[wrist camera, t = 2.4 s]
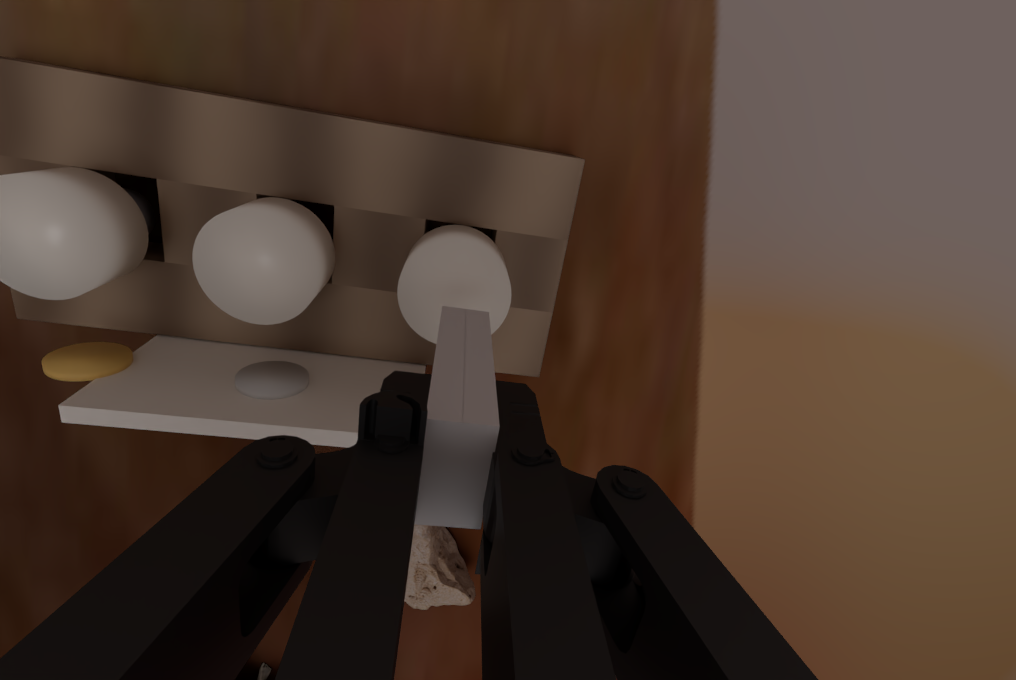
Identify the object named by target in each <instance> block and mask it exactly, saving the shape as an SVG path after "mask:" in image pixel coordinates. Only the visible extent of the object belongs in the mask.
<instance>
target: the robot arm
mask: <svg viewBox="0 0 1016 680" xmlns="http://www.w3.org/2000/svg"><path fill="white" fill-rule="evenodd" d="M482 518H483V525H484V529H483V535H482V540H481V545H480V550H479V556H478V561H477V566H476V571H475V574H480V575H481V631H482V680H616V678H617V680H818V679H817V678H816V676H815V675H814V674H813V673H812V672H811V671H810V669H809V668H808V667H807V666H806V665H805V663H804V662H803V661H802V659H801V658H800V657H799V656H798V655H797V653H796V652H795V651H794V650H793V649H792V647H791V646H790V645H789V644H788V643H787V641H786V640H785V639H784V638H783V636H782V635H781V634H780V633H779V632H778V630H777V629H776V628H775V627H774V626H773V624H772V623H771V622H770V621H769V619H768V618H767V617H766V616H765V615H764V613H763V612H762V611H761V610H760V609H759V607H758V606H757V605H756V604H755V603H754V601H753V600H752V599H751V598H750V596H749V595H748V594H747V593H746V592H745V590H744V589H743V588H742V587H741V585H740V584H739V583H738V582H737V581H736V580H735V578H734V577H733V576H732V575H731V573H730V572H729V571H728V570H727V569H726V567H725V566H724V565H723V564H722V562H721V561H720V560H719V559H718V558H717V556H716V555H715V554H714V553H713V552H712V550H711V549H710V548H709V547H708V546H707V544H706V543H705V542H704V541H703V539H702V538H701V537H700V536H699V535H698V533H697V532H696V531H695V530H694V529H693V527H692V526H691V525H690V524H689V522H688V521H687V520H686V519H685V518H684V516H683V515H682V514H681V513H680V512H679V510H678V509H677V508H676V507H675V505H674V504H673V503H672V502H671V501H670V499H669V498H668V497H667V496H666V495H665V493H664V492H663V491H662V490H661V488H660V487H659V486H658V485H657V484H656V483H655V482H654V481H653V480H652V479H651V478H650V477H649V476H647V475H646V474H644V473H642V472H640V471H638V470H636V469H633V468H630V467H626V466H618V465H612V466H608V467H604V468H603V469H601V470H600V471H599V472H598V474H597V478H596V479H594V478H591V477H588V476H584V475H581V474H578V473H576V472H573V471H570V470H568V469H567V468H565V467H563V466H562V465H561V461H560V458H559V456H558V454H557V453H556V451H555V450H554V449H553V448H551V447H550V446H549V445H548V444H547V443H546V439H545V434H544V430H543V426H542V421H541V417H540V413H539V408H538V404H537V400H536V395H535V394H534V392H533V391H532V390H531V389H530V388H529V387H528V386H527V385H526V384H521V383H512V382H504V381H495V371H494V360H493V349H492V338H491V328H490V317H489V312H486V311H478V310H470V309H463V308H455V307H447V306H442V311H441V317H440V324H439V331H438V337H437V344H436V350H435V357H434V364H433V370H432V375H430V374H421V373H413V372H404V371H394V372H392V373H391V374H390V375H388V376H387V377H386V378H384V380H383V383H382V386H381V389H380V392H378V393H374V394H372V395H370V396H368V397H366V398H364V399H363V401H362V402H361V403H360V407H359V424H358V440H357V443H356V444H355V445H353V446H351V447H349V448H346V449H343V450H340V451H335V452H329V453H320V454H315V451H314V447H313V446H312V445H311V444H310V443H309V442H308V441H306V440H304V439H301V438H299V437H296V436H288V435H278V436H269V437H265V438H262V439H259V440H256V441H254V442H252V443H251V444H249V445H247V446H246V447H244V448H243V449H242V450H241V451H240V452H238V453H237V454H236V455H235V456H234V457H233V458H231V459H230V460H229V461H228V462H227V463H226V464H225V465H223V466H222V467H221V468H220V469H219V470H218V471H216V472H215V473H214V474H213V475H212V476H211V477H210V478H208V479H207V480H206V481H205V482H204V483H203V484H201V485H200V486H199V487H198V488H197V489H196V490H195V491H193V492H192V493H191V494H190V495H189V496H188V497H186V498H185V499H184V500H183V501H182V502H181V503H180V504H178V505H177V506H176V507H175V508H174V509H173V510H171V511H170V512H169V513H168V514H167V515H166V516H165V517H163V518H162V519H161V520H160V521H159V522H158V523H156V524H155V525H154V526H153V527H152V528H151V529H149V530H148V531H147V532H146V533H145V534H144V535H143V536H141V537H140V538H139V539H138V540H137V541H136V542H134V543H133V544H132V545H131V546H130V547H129V548H128V549H126V550H125V551H124V552H123V553H122V554H121V555H119V556H118V557H117V558H116V559H115V560H114V561H113V562H111V563H110V564H109V565H108V566H107V567H106V568H104V569H103V570H102V571H101V572H100V573H99V574H98V575H96V576H95V577H94V578H93V579H92V580H91V581H89V582H88V583H87V584H86V585H85V586H84V587H83V588H81V589H80V590H79V591H78V592H77V593H76V594H74V595H73V596H72V597H71V598H70V599H69V600H67V601H66V602H65V603H64V604H63V605H62V606H61V607H59V608H58V609H57V610H56V611H55V612H54V613H52V614H51V615H50V616H49V617H48V618H47V619H46V620H44V621H43V622H42V623H41V624H40V625H39V626H37V627H36V628H35V629H34V630H33V631H32V632H31V633H29V634H28V635H27V636H26V637H25V638H24V639H22V640H21V641H20V642H19V643H18V644H17V645H16V646H14V647H13V648H12V649H11V650H10V651H9V652H7V653H6V654H5V655H4V656H3V657H2V658H1V659H0V680H235V678H236V677H237V675H238V674H239V672H240V671H241V669H242V668H243V666H244V665H245V664H246V662H247V661H248V659H249V658H250V656H251V655H252V653H253V652H254V650H255V649H256V647H257V646H258V644H259V643H260V641H261V640H262V638H263V637H264V635H265V634H266V632H267V631H268V630H269V628H270V627H271V625H272V624H273V622H274V621H275V619H276V618H277V616H278V615H279V613H280V612H281V610H282V609H283V607H284V606H285V604H286V603H287V601H288V600H289V598H290V597H291V596H292V594H293V593H294V591H295V590H296V588H297V587H298V585H299V584H300V582H301V581H302V579H303V578H304V576H305V575H306V573H307V572H308V570H309V569H310V566H311V564H312V561H313V560H316V562H315V564H314V567H313V570H312V573H311V576H310V579H309V582H308V585H307V588H306V591H305V593H304V596H303V599H302V602H301V605H300V608H299V611H298V614H297V617H296V619H295V622H294V625H293V628H292V631H291V634H290V637H289V640H288V643H287V646H286V648H285V651H284V654H283V657H282V660H281V663H280V666H279V669H278V672H277V675H276V677H275V680H394V674H395V667H396V659H397V652H398V644H399V637H400V629H401V622H402V614H403V607H404V600H405V592H406V585H407V577H408V570H409V562H410V555H411V547H412V539H413V531H414V524H417V525H430V526H443V527H456V528H469V529H481V524H482ZM615 676H616V677H615Z"/></svg>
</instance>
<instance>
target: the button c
mask: <svg viewBox="0 0 1016 680" xmlns="http://www.w3.org/2000/svg"><path fill="white" fill-rule="evenodd" d="M397 296H398V303H399V307H400V310H401V312H402V315H403V317H404V318H405V320H406V322H407V323H408V324H409V326H410V327H411V328H412V329H413V330H414V331H415V332H416V333H417V334H419V335H420V336H421V337H423V338H424V339H426V340H428V341H430V342H432V343H435V344H437V337H438V331H439V324H440V317H441V311H442V306H447V307H455V308H463V309H470V310H478V311H486V312H489V317H490V328H491V335H492V334H493V333H494V332H495V331H496V330H497V329H498V328H499V327H500V325H501V324H502V323H503V321H504V319H505V318H506V316H507V313H508V311H509V308H510V304H511V285H510V280H509V276H508V273H507V269H506V265H505V262H504V259H503V256H502V254H501V252H500V250H499V248H498V247H497V245H496V244H495V243H494V242H493V241H492V240H491V239H490V238H489V237H488V236H487V235H485V234H484V233H482V232H481V231H479V230H477V229H474V228H472V227H468V226H464V225H446V226H441V227H438V228H435V229H433V230H431V231H429V232H427V233H426V234H424V235H423V236H422V237H421V238H420V239H419V240H418V241H417V242H416V243H415V244H414V246H413V247H412V249H411V251H410V253H409V255H408V257H407V260H406V262H405V265H404V267H403V269H402V272H401V275H400V278H399V281H398V288H397Z"/></svg>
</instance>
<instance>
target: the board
mask: <svg viewBox="0 0 1016 680" xmlns="http://www.w3.org/2000/svg"><path fill="white" fill-rule="evenodd" d="M584 162H585V159H582V158H579V157H576V156H573V155H568V154H562V153H557V152H551V151H545V150H539V149H534V148H528V147H522V146H517V145H511V144H505V143H499V142H494V141H488V140H482V139H476V138H471V137H465V136H459V135H453V134H448V133H442V132H436V131H430V130H425V129H419V128H413V127H407V126H402V125H396V124H390V123H384V122H379V121H373V120H367V119H361V118H356V117H350V116H344V115H339V114H333V113H327V112H321V111H316V110H310V109H304V108H298V107H293V106H287V105H281V104H275V103H270V102H264V101H258V100H252V99H247V98H241V97H235V96H229V95H224V94H218V93H212V92H206V91H201V90H195V89H189V88H183V87H178V86H172V85H166V84H161V83H155V82H149V81H143V80H138V79H132V78H126V77H120V76H115V75H109V74H103V73H97V72H92V71H86V70H80V69H74V68H69V67H63V66H57V65H51V64H46V63H40V62H34V61H28V60H23V59H17V58H10V57H2V56H0V175H6V174H14V173H22V172H30V171H38V170H46V169H54V168H62V167H78V168H84V169H88V170H91V171H94V172H97V173H99V174H101V175H104V176H106V177H107V178H109V179H111V180H112V181H114V182H115V183H116V180H115V173H122V174H128V175H135V176H142V177H148V178H155V179H157V188H158V198H159V208H160V218H161V228H162V238H163V244H161V243H154V242H148V248H147V252H146V254H145V256H144V259H143V260H142V261H141V263H140V264H139V265H138V266H137V267H136V268H135V269H134V270H132V271H131V272H129V273H127V274H125V275H123V276H121V277H119V278H117V279H114V280H112V281H110V282H108V283H106V284H104V285H101V286H99V287H97V288H95V289H93V290H91V291H88V292H86V293H84V294H82V295H80V296H77V297H74V298H71V299H65V300H46V299H40V298H36V297H32V296H29V295H26V294H24V293H21V292H19V291H17V290H15V289H13V288H11V287H10V290H11V294H12V299H13V303H14V307H15V312H16V316H17V319H24V320H33V321H42V322H51V323H60V324H69V325H78V326H87V327H96V328H105V329H114V330H123V331H131V332H140V333H149V334H158V335H167V336H176V337H185V338H194V339H203V340H212V341H221V342H230V343H239V344H248V345H257V346H266V347H274V348H283V349H292V350H301V351H310V352H319V353H328V354H337V355H346V356H355V357H364V358H373V359H382V360H391V361H400V362H409V363H417V364H426V365H433V364H434V357H435V350H436V344H435V343H432V342H430V341H428V340H426V339H424V338H423V337H421V336H420V335H419V334H417V333H416V332H415V331H414V330H413V329H412V328H411V327H410V326H409V324H408V323H407V322H406V320H405V318H404V317H403V315H402V312H401V310H400V307H399V303H398V296H397V288H398V281H399V278H400V275H401V272H402V269H403V267H404V265H405V262H406V260H407V257H408V255H409V253H410V251H411V249H412V247H413V246H414V244H415V243H416V242H417V241H418V240H419V239H420V238H421V237H422V236H423V235H424V234H426V233H427V228H428V220H434V221H441V222H448V223H454V224H461V225H467V226H474V227H481V228H487V229H492V236H491V240H492V241H493V242H494V243H495V244H496V245H497V247H498V248H499V250H500V252H501V254H502V256H503V259H504V262H505V265H506V269H507V273H508V276H509V280H510V285H511V304H510V308H509V311H508V313H507V316H506V318H505V319H504V321H503V323H502V324H501V325H500V327H499V328H498V329H497V330H496V331H495V332H494V333H493V334H492V335H491V338H492V349H493V360H494V371H495V372H498V373H507V374H516V375H525V376H534V377H539V375H540V370H541V365H542V360H543V356H544V351H545V346H546V342H547V337H548V332H549V327H550V323H551V318H552V313H553V308H554V304H555V299H556V294H557V290H558V285H559V280H560V275H561V271H562V266H563V261H564V256H565V252H566V247H567V242H568V238H569V233H570V228H571V223H572V219H573V214H574V209H575V205H576V200H577V195H578V190H579V186H580V181H581V176H582V171H583V167H584ZM114 172H115V173H114ZM266 197H276V198H278V197H281V198H288V199H295V200H301V201H308V202H315V203H321V204H328V205H334V233H333V244H334V250H335V265H334V269H333V273H332V275H331V277H330V279H329V281H328V282H327V284H326V285H325V286H324V287H323V288H322V290H321V291H320V292H319V293H318V294H317V296H316V297H315V298H314V299H313V300H312V302H311V303H310V304H309V305H308V306H307V308H306V309H305V310H304V311H303V312H302V313H300V314H299V315H298V316H296V317H295V318H293V319H290V320H288V321H286V322H282V323H278V324H272V325H260V324H253V323H248V322H245V321H242V320H239V319H237V318H234V317H232V316H231V315H229V314H227V313H226V312H224V311H223V310H221V309H220V308H219V307H217V306H216V305H215V304H214V303H213V302H212V301H211V300H210V299H209V298H208V297H207V295H206V294H205V293H204V291H203V290H202V288H201V286H200V285H199V282H198V280H197V278H196V275H195V272H194V268H193V261H192V253H193V246H194V243H195V239H196V237H197V235H198V233H199V231H200V230H201V229H202V227H203V226H204V225H205V224H206V223H207V222H208V221H209V220H211V219H212V218H213V217H215V216H217V215H219V214H221V213H223V212H225V211H228V210H230V209H233V208H235V207H238V206H240V205H243V204H246V203H248V202H251V201H253V200H256V199H260V198H266Z"/></svg>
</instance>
